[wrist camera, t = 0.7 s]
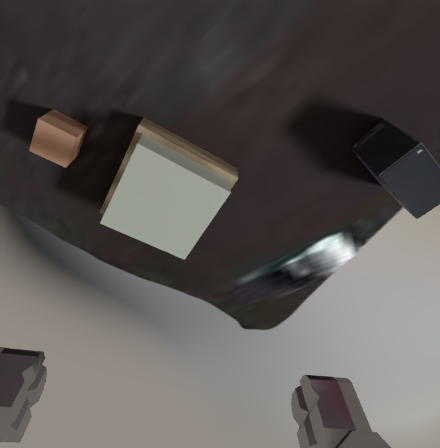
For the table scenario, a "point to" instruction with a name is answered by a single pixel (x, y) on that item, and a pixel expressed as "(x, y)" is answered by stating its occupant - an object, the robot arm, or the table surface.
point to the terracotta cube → (58, 138)
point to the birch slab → (176, 145)
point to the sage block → (165, 198)
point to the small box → (401, 167)
